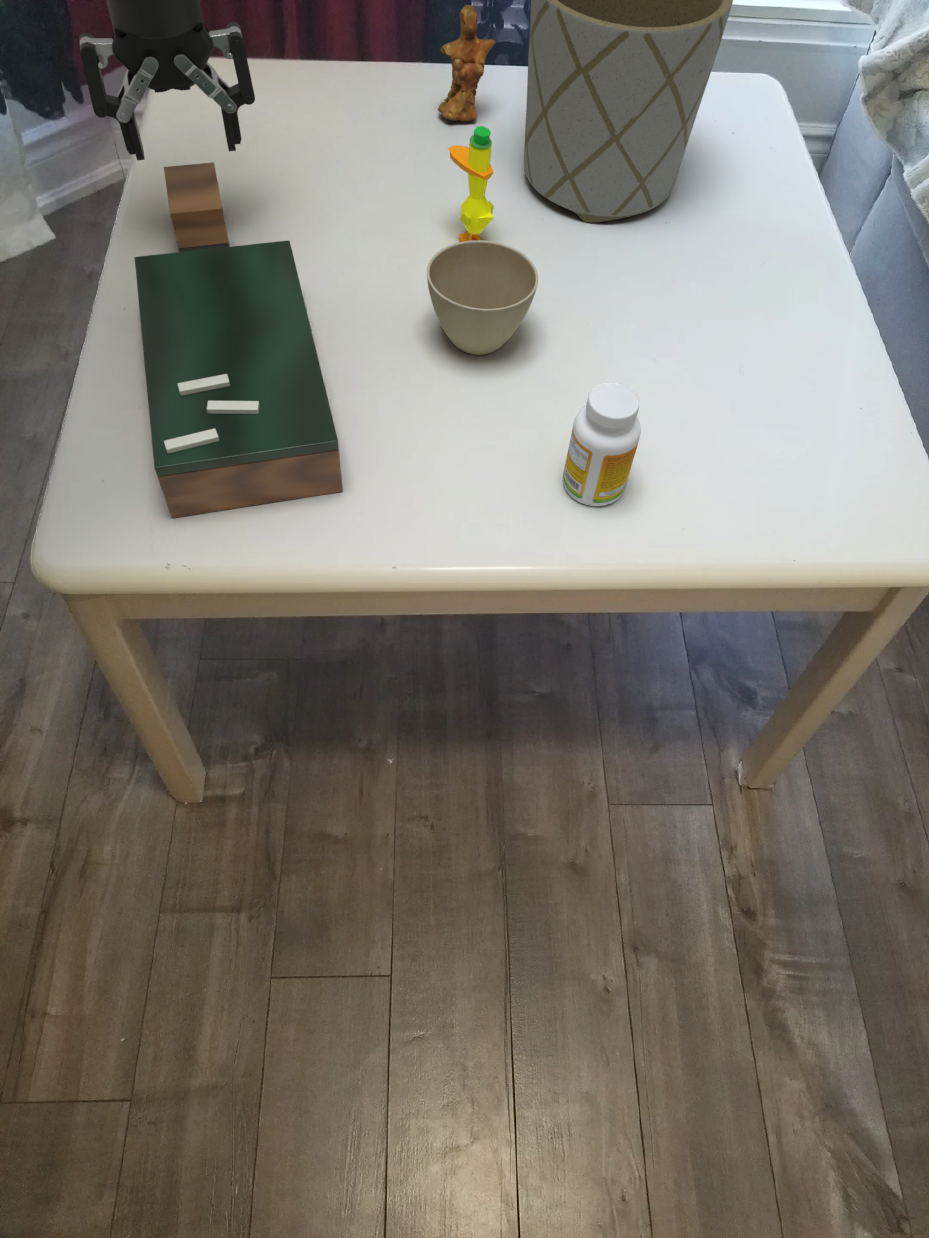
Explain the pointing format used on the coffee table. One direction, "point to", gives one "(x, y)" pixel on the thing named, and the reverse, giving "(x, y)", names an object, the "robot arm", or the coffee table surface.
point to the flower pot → (480, 293)
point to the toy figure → (475, 182)
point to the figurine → (465, 68)
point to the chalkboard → (234, 378)
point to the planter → (615, 98)
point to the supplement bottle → (602, 445)
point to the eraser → (196, 207)
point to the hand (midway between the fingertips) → (186, 151)
